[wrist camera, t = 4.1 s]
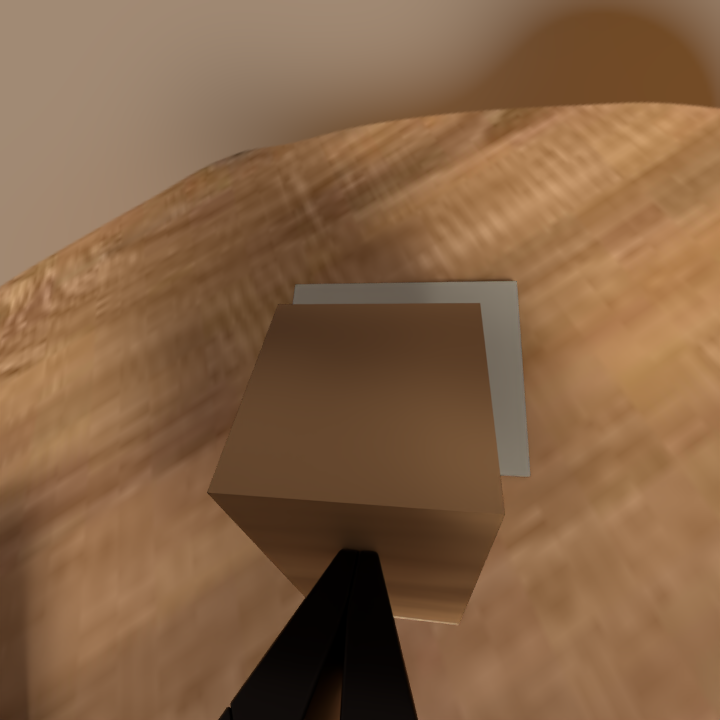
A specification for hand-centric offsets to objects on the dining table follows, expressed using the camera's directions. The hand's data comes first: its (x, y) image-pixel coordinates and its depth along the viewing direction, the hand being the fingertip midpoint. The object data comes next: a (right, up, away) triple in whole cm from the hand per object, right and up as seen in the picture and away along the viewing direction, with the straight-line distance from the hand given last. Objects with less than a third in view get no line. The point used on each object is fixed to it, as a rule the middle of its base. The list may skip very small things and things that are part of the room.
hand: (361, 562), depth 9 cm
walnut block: (+1, -3, +7) cm, 7 cm away
